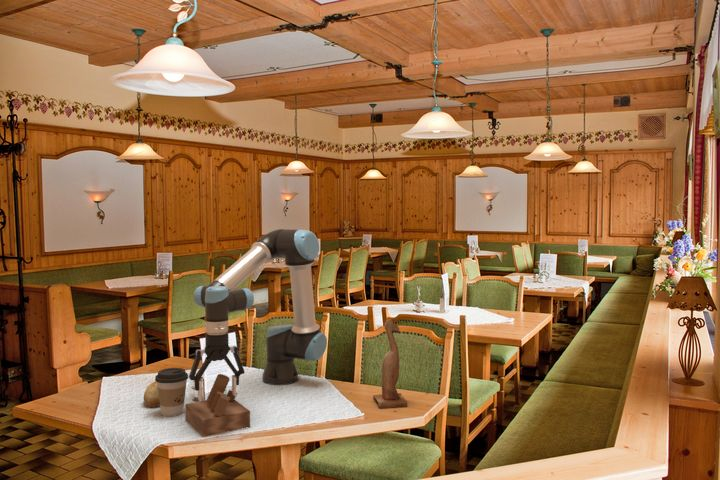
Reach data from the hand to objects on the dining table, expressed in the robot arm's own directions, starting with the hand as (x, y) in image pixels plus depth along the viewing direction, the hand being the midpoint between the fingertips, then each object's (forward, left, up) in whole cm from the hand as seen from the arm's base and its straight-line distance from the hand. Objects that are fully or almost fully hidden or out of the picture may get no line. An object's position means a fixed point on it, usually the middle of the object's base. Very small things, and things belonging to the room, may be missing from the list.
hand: (217, 397), depth 200 cm
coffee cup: (+12, -17, -9) cm, 23 cm away
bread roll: (+14, -31, -9) cm, 35 cm away
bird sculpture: (-63, +7, -9) cm, 64 cm away
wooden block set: (-1, +1, -4) cm, 4 cm away
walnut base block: (0, 0, -9) cm, 9 cm away
